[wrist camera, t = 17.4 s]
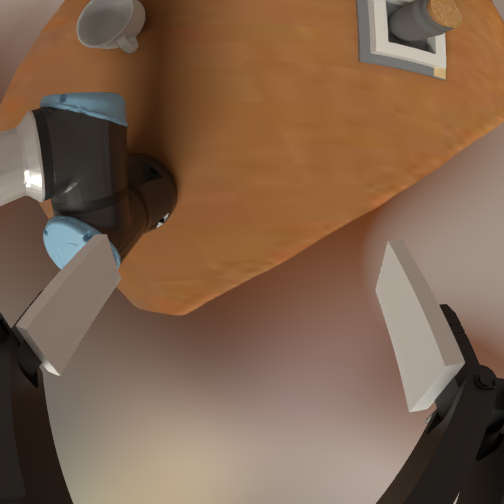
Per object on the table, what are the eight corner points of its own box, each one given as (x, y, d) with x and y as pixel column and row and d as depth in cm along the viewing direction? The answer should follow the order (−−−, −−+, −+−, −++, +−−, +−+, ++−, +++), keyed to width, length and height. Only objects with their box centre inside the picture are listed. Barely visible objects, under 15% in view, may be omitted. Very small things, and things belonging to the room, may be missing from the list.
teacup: (95, 20, 32) (69, 16, 26) (142, -12, 29) (120, -23, 23) (117, 73, 39) (92, 75, 32) (168, 43, 36) (147, 37, 29)
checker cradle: (358, 61, 35) (365, 59, 32) (353, -20, 26) (359, -28, 23) (442, 80, 33) (454, 81, 30) (438, 3, 25) (449, -1, 21)
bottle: (380, 15, 29) (418, -9, 16) (408, 9, 27) (452, -12, 14) (396, 45, 31) (441, 34, 19) (423, 39, 29) (473, 29, 17)
